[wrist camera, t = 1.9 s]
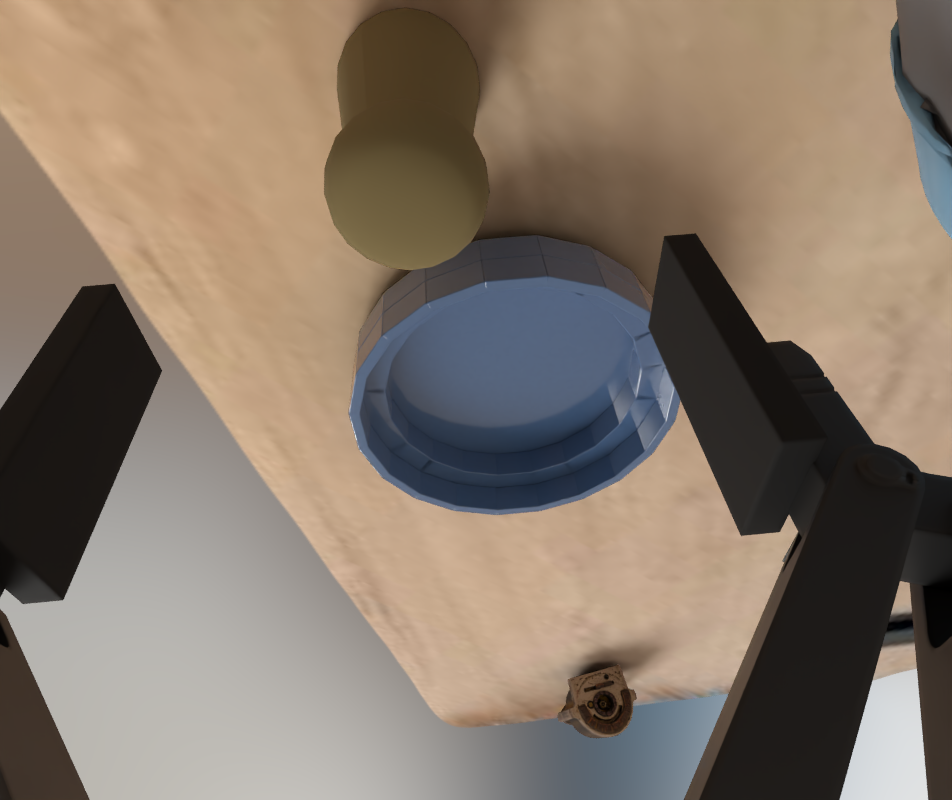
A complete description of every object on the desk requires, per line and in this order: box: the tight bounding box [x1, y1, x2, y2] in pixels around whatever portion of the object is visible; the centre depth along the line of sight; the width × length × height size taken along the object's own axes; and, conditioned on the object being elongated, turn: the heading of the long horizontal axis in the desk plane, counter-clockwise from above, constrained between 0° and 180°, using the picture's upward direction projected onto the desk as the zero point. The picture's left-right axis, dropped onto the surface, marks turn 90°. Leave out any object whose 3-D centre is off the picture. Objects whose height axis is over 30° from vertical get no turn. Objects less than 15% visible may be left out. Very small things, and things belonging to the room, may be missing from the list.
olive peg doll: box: [324, 8, 490, 270], centre depth 23 cm, size 6×6×11 cm
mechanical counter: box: [558, 664, 637, 738], centre depth 71 cm, size 7×13×10 cm
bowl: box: [349, 235, 680, 515], centre depth 36 cm, size 18×18×4 cm
